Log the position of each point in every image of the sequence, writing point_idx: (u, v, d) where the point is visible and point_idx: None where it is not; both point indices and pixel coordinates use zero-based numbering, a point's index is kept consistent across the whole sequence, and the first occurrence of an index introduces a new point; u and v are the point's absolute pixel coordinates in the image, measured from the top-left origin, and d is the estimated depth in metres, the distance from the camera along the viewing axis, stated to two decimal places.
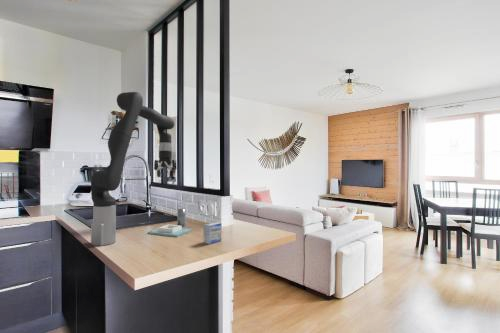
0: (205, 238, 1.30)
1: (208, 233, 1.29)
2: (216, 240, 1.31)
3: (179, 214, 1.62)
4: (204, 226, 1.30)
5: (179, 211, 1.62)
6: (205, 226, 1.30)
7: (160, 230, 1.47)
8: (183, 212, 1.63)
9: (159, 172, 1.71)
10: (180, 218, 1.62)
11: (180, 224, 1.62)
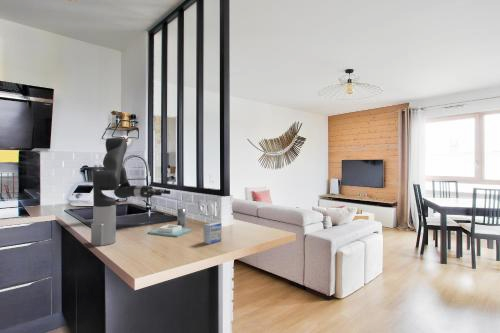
0: (205, 238, 1.30)
1: (208, 233, 1.29)
2: (216, 240, 1.31)
3: (179, 214, 1.62)
4: (204, 226, 1.30)
5: (179, 211, 1.62)
6: (205, 226, 1.30)
7: (160, 230, 1.47)
8: (183, 212, 1.63)
9: None
10: (180, 218, 1.62)
11: (180, 224, 1.62)
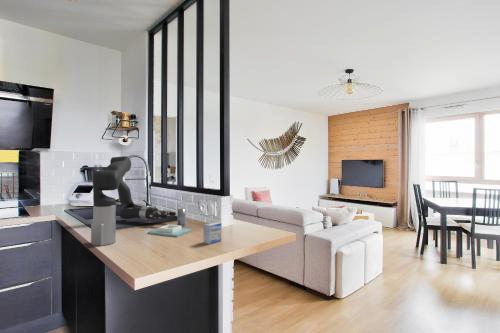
0: (205, 238, 1.30)
1: (208, 233, 1.29)
2: (216, 240, 1.31)
3: (179, 214, 1.62)
4: (204, 226, 1.30)
5: (179, 211, 1.62)
6: (205, 226, 1.30)
7: (160, 230, 1.47)
8: (183, 212, 1.63)
9: None
10: (180, 218, 1.62)
11: (180, 224, 1.62)
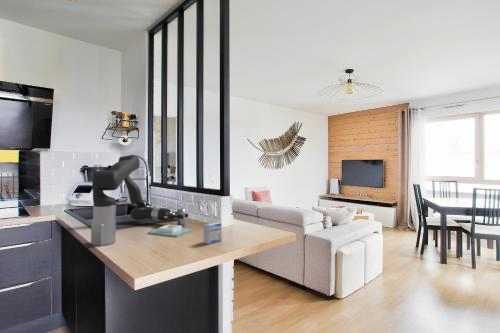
0: (205, 238, 1.30)
1: (208, 233, 1.29)
2: (216, 240, 1.31)
3: (179, 214, 1.62)
4: (204, 226, 1.30)
5: (179, 211, 1.62)
6: (205, 226, 1.30)
7: (160, 230, 1.47)
8: (183, 212, 1.63)
9: None
10: None
11: (180, 224, 1.62)
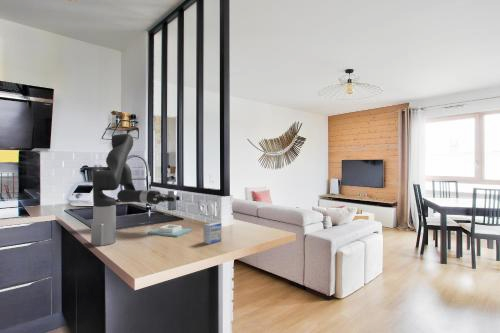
0: (205, 238, 1.30)
1: (208, 233, 1.29)
2: (216, 240, 1.31)
3: (170, 196, 1.49)
4: (204, 226, 1.30)
5: (170, 193, 1.49)
6: (205, 226, 1.30)
7: (160, 230, 1.47)
8: (174, 194, 1.49)
9: None
10: None
11: (171, 207, 1.49)
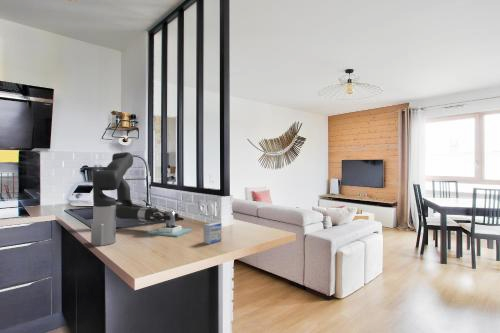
0: (205, 238, 1.30)
1: (208, 233, 1.29)
2: (216, 240, 1.31)
3: None
4: (204, 226, 1.30)
5: (168, 214, 1.47)
6: (205, 226, 1.30)
7: (160, 230, 1.47)
8: (172, 215, 1.48)
9: None
10: (169, 221, 1.47)
11: None
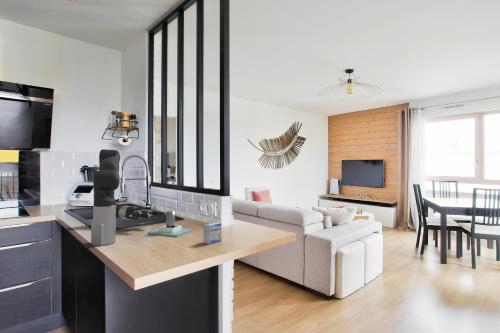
0: (205, 238, 1.30)
1: (208, 233, 1.29)
2: (216, 240, 1.31)
3: (168, 217, 1.47)
4: (204, 226, 1.30)
5: (168, 214, 1.47)
6: (205, 226, 1.30)
7: (160, 230, 1.47)
8: (172, 215, 1.48)
9: None
10: (169, 221, 1.47)
11: None
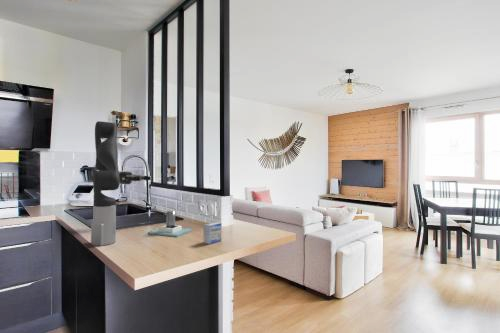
0: (205, 238, 1.30)
1: (208, 233, 1.29)
2: (216, 240, 1.31)
3: (168, 217, 1.47)
4: (204, 226, 1.30)
5: (168, 214, 1.47)
6: (205, 226, 1.30)
7: (160, 230, 1.47)
8: (173, 215, 1.48)
9: None
10: (169, 221, 1.47)
11: None
